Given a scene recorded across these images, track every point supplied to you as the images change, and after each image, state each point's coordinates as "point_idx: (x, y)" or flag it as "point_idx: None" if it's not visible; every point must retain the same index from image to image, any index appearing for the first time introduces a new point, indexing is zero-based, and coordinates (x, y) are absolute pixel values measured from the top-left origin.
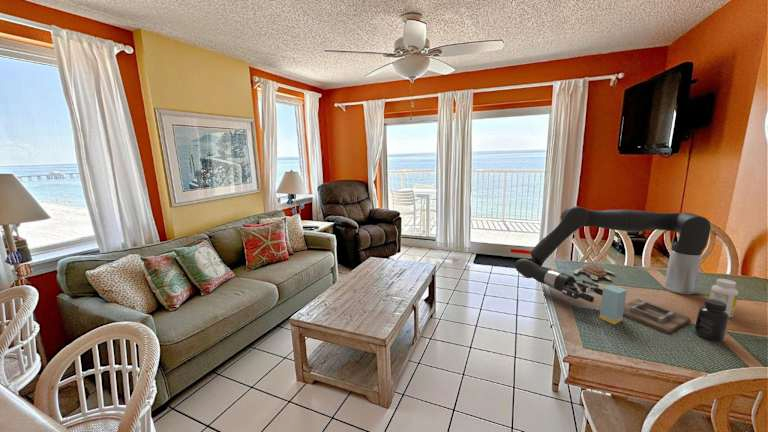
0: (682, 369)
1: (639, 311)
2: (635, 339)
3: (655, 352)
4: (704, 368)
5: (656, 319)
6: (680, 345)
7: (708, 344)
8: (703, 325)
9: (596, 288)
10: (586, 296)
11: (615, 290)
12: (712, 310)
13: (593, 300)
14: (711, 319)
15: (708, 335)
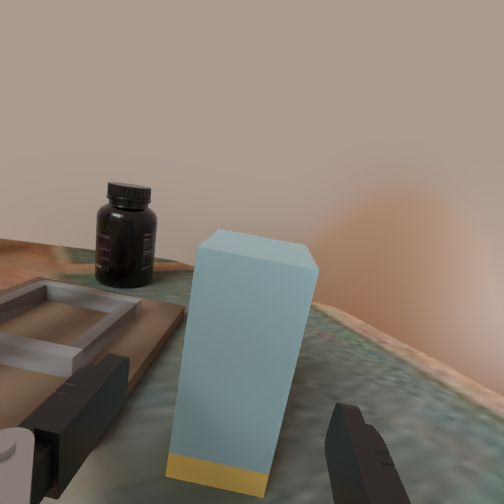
0: (324, 308)
1: (100, 337)
2: (302, 359)
3: (315, 331)
4: None
5: (134, 313)
6: None
7: (173, 283)
8: (149, 252)
9: (30, 451)
10: (387, 462)
11: (281, 247)
12: (147, 206)
13: (330, 429)
14: (156, 227)
15: (152, 269)
